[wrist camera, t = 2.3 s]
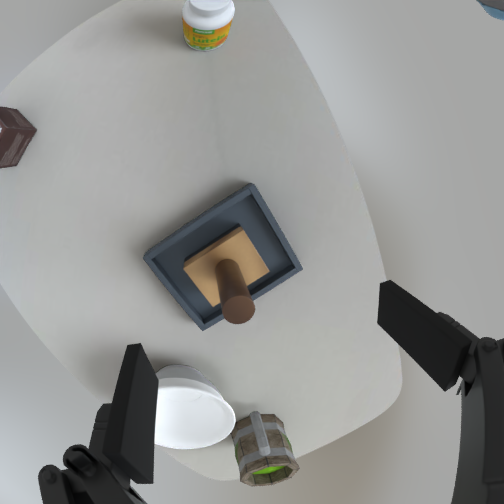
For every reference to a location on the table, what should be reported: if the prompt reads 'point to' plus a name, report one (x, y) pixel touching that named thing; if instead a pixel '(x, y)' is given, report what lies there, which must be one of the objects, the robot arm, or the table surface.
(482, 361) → the robot arm
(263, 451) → the mug
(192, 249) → the tray
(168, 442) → the bowl
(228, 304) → the peg on wooden base
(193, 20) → the supplement bottle
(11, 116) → the box
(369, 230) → the table surface
